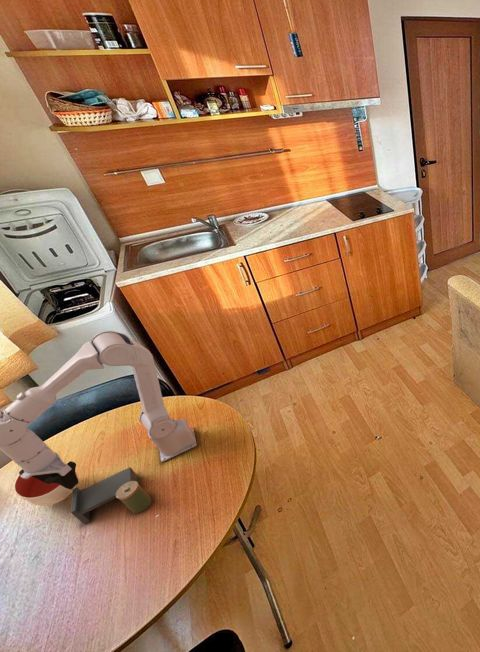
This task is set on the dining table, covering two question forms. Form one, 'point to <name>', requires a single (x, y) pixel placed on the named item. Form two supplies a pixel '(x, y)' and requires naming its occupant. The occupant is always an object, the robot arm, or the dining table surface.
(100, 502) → the grey channel-top block
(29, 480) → the cup
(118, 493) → the canister
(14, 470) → the dining table surface
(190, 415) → the dining table surface
